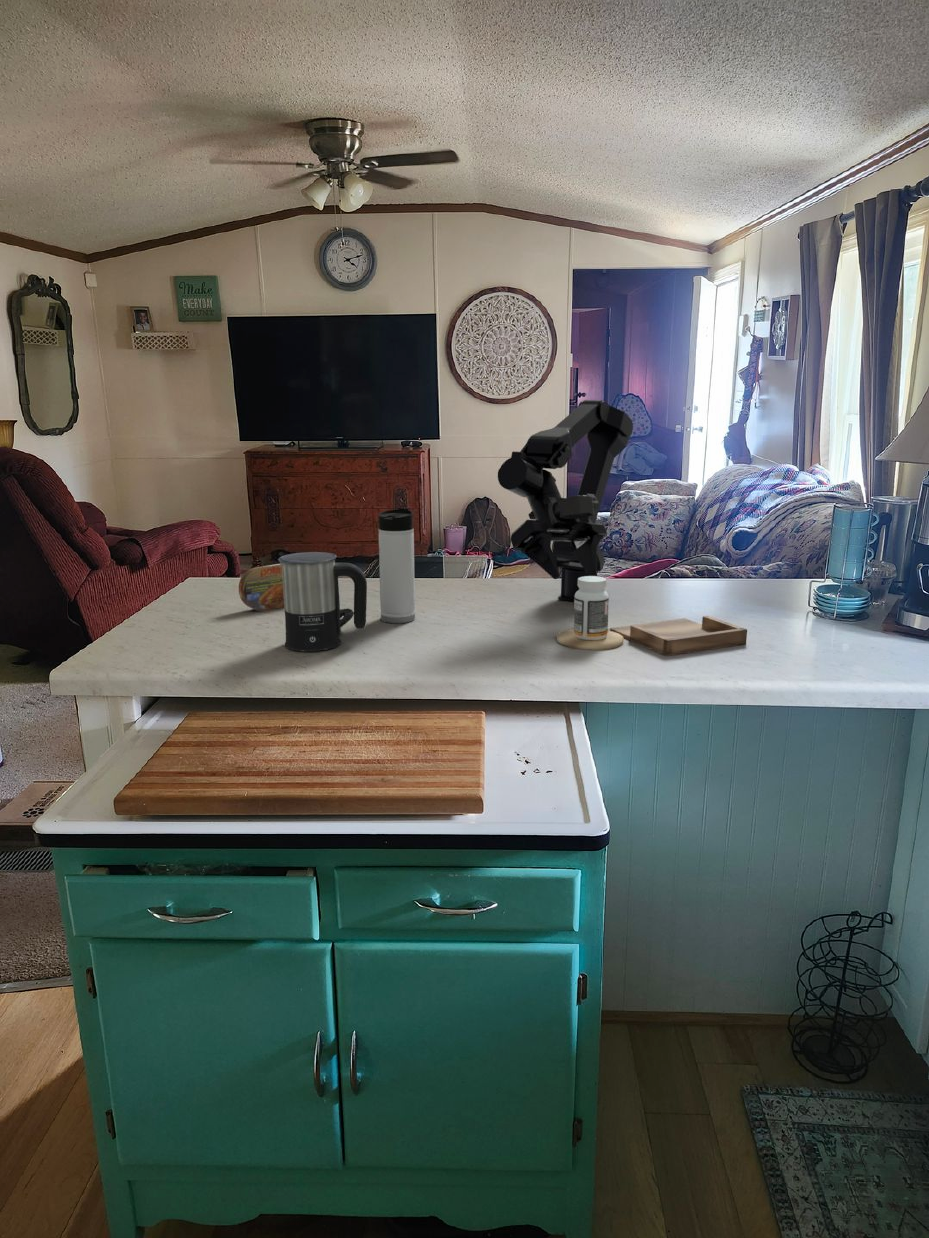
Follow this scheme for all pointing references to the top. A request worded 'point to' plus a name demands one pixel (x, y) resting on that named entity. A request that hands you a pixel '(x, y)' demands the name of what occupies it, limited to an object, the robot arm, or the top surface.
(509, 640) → the top surface
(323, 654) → the top surface
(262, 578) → the tin
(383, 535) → the travel mug
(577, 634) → the pill bottle
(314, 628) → the milk frother
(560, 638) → the cork mat
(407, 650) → the top surface
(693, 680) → the top surface
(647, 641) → the tray
